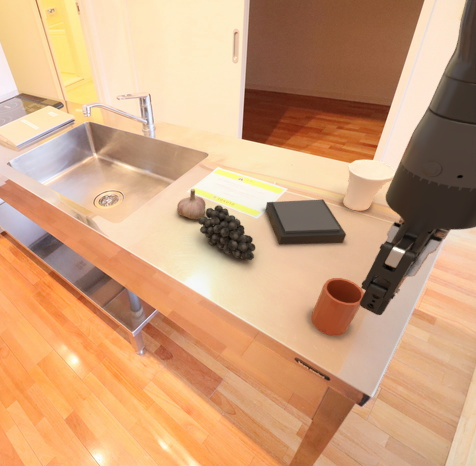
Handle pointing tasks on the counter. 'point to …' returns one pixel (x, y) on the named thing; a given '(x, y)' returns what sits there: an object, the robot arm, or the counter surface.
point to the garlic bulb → (192, 206)
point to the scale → (304, 222)
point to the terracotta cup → (336, 306)
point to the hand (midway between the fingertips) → (386, 288)
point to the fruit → (227, 233)
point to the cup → (366, 182)
